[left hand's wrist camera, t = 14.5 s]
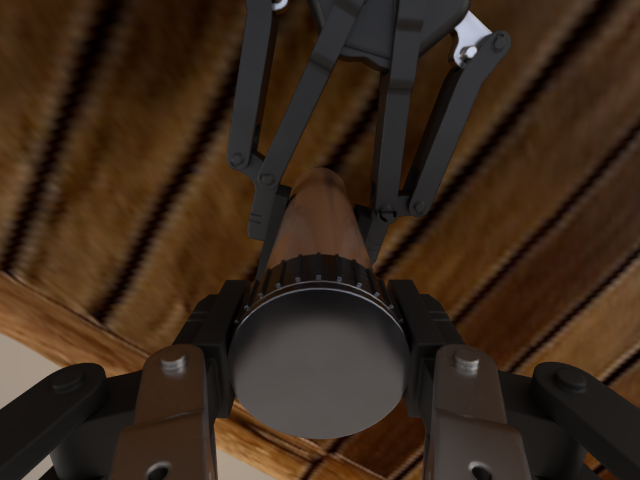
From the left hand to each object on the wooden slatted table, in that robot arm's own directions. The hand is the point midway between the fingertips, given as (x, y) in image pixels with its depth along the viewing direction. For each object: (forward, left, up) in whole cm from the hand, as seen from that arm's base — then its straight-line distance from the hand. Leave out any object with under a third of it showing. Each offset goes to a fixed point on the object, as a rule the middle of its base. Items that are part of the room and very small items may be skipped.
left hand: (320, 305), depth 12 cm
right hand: (+2, -5, -10) cm, 12 cm away
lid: (0, 0, +3) cm, 3 cm away
